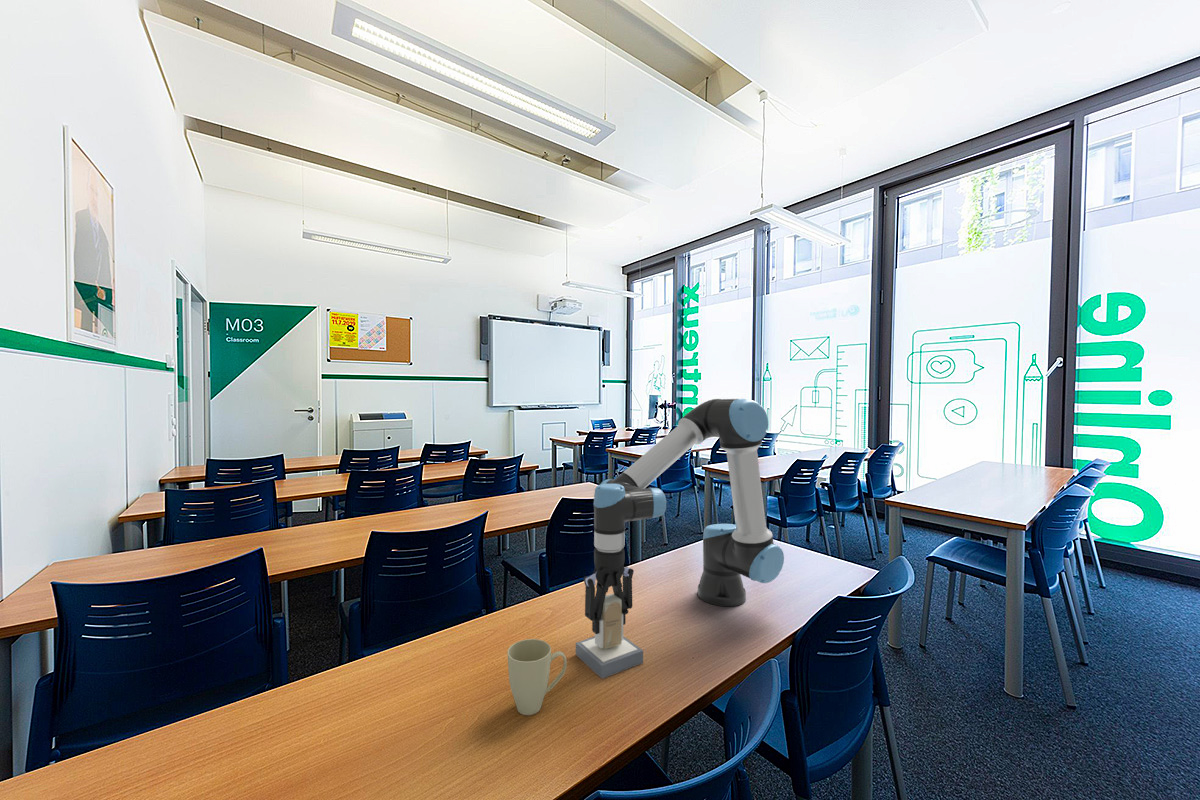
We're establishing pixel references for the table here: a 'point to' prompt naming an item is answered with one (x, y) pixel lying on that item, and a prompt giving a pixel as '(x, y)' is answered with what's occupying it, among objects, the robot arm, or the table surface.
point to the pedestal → (609, 656)
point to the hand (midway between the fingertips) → (609, 641)
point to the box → (612, 621)
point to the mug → (531, 673)
